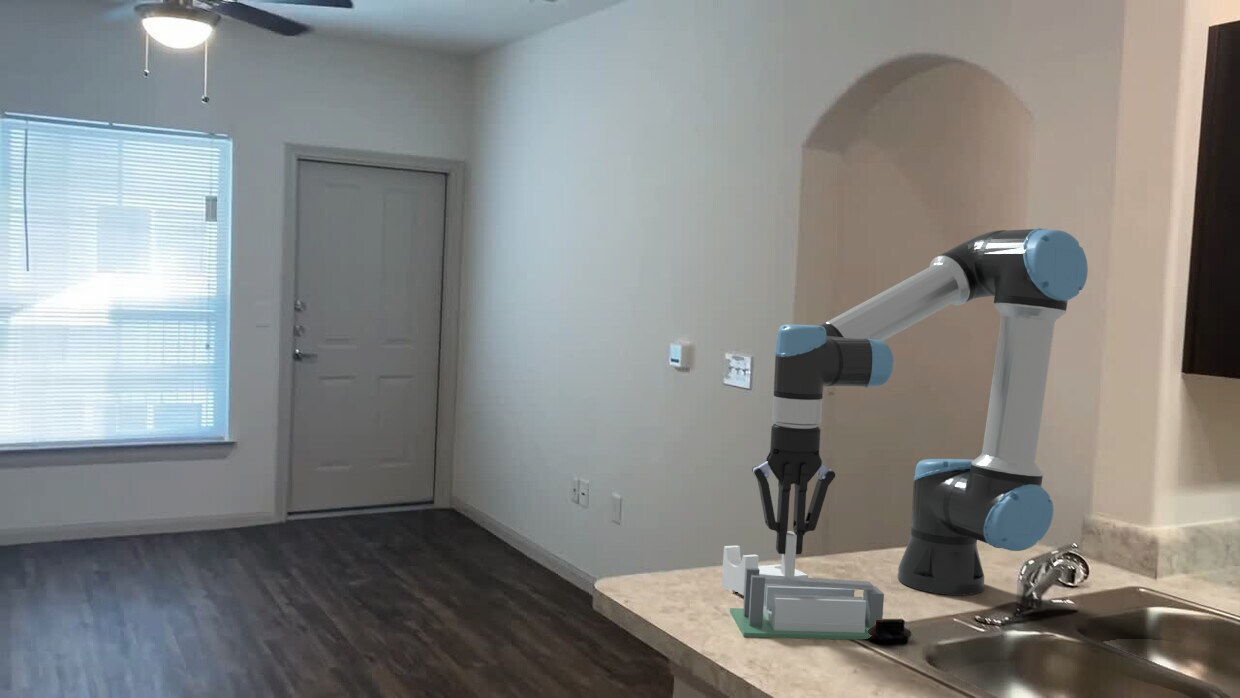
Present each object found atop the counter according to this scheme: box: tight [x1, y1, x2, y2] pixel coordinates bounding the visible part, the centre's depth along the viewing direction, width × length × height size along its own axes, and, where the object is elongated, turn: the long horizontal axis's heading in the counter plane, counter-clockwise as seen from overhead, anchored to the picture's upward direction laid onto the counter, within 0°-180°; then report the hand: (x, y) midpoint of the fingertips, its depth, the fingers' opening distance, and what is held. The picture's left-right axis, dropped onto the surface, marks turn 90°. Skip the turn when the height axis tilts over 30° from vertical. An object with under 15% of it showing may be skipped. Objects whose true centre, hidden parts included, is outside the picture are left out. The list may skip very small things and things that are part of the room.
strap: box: [750, 574, 874, 591], centre depth 167 cm, size 19×2×1 cm, turn 94°
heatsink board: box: [729, 568, 885, 640], centre depth 168 cm, size 23×12×8 cm, turn 94°
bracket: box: [721, 545, 809, 597], centre depth 186 cm, size 13×7×8 cm, turn 115°
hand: (787, 574), depth 167 cm, fingers closed
